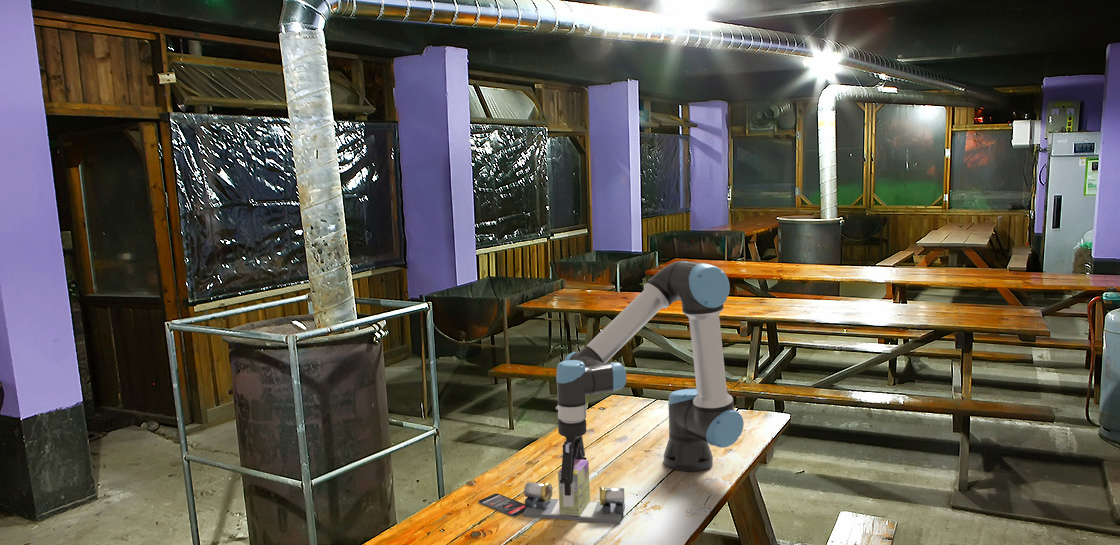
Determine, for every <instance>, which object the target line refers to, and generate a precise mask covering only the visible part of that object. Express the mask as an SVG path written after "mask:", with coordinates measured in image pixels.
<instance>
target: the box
mask: <svg viewBox="0 0 1120 545" xmlns="http://www.w3.org/2000/svg"><path fill="white" fill-rule="evenodd" d="M589 465H590V464H589V459H586V460H582V459H575V463H574V472H573V482H574V507H569V506H564V505H563V484H562V483H560V480H561V471H562V467H561V468H560V469H559V471H558V472H557V479H558V482H557V483H558V499H559V512H560V514H563V515H571V516H580V514H581V513H582V511H583V510H584V508H585V507H586V505H587V504H588V503H589V501H591V496H590V495H591V491H590V490H591V489H590V488H591V487H590V466H589ZM566 479H568V478H566Z"/></svg>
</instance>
